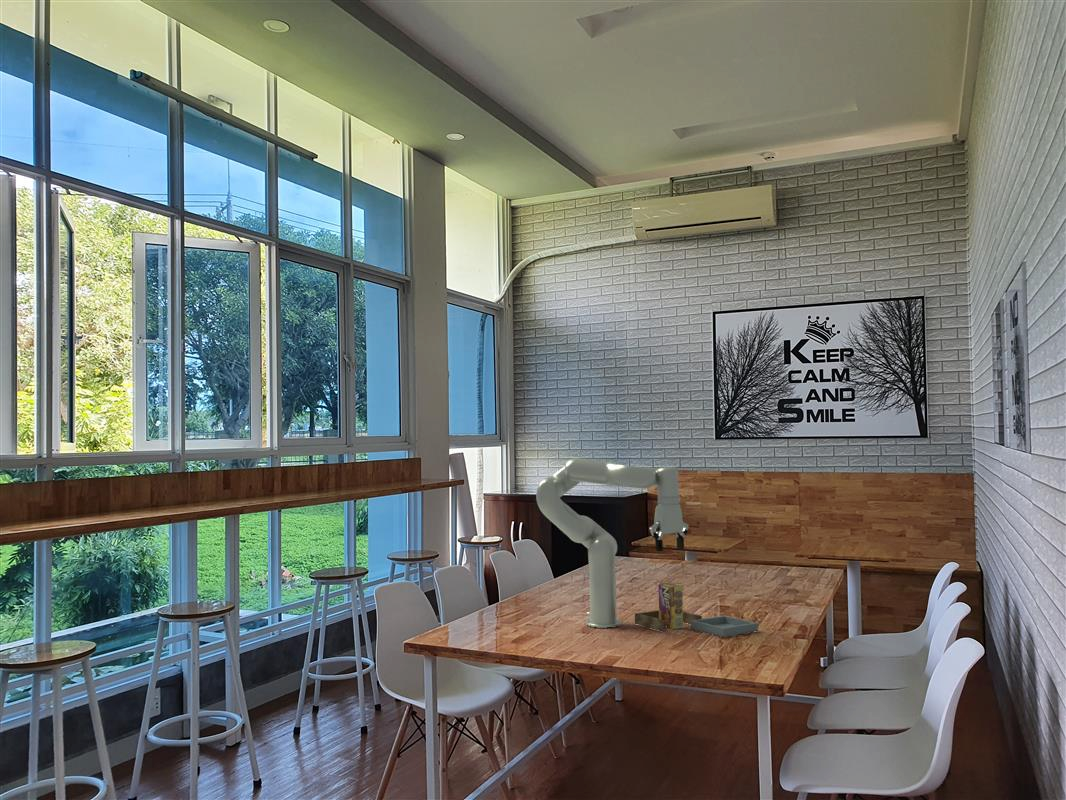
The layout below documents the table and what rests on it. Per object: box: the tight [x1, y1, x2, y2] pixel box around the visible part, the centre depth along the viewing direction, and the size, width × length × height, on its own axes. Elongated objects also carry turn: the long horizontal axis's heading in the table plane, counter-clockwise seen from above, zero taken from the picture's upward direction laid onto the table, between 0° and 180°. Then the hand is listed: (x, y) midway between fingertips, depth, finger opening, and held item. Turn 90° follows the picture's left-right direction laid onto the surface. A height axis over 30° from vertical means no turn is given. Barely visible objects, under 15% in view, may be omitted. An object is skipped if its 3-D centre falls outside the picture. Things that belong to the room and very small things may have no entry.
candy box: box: [658, 581, 684, 630], centre depth 289 cm, size 9×4×15 cm, turn 29°
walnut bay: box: [634, 609, 703, 633], centre depth 291 cm, size 16×17×4 cm
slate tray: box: [690, 615, 759, 638], centre depth 282 cm, size 16×16×3 cm
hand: (670, 549), depth 291 cm, fingers open, 9 cm apart
